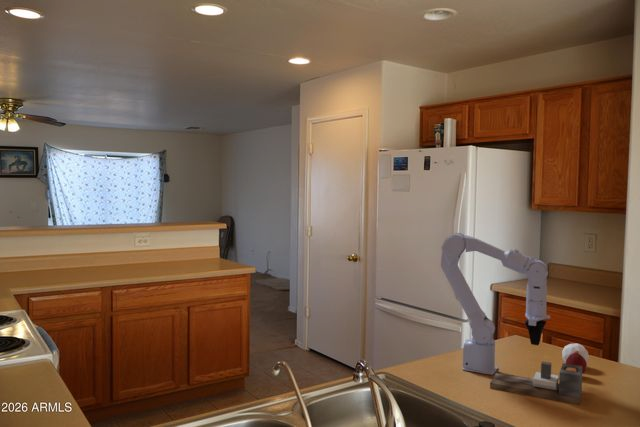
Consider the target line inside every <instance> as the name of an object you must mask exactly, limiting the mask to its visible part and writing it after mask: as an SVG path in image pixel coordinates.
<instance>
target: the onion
mask: <svg viewBox="0 0 640 427" xmlns="http://www.w3.org/2000/svg"><path fill="white" fill-rule="evenodd" d="M587 363H588V362H587ZM587 363H586V360H585V359H584V358H583V357H582V356H581V355H580V354H579V353H578V351H577V350H576V351H575V352H574V353H573V354H571V355H570V356H569V357H568V358H567V360H566V363H565V364H571V365H577V366H582V374H584V373H585V371H586V370H587V367H588V365H587Z"/></svg>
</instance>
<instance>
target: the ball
mask: <svg viewBox="0 0 640 427" xmlns="http://www.w3.org/2000/svg"><path fill="white" fill-rule="evenodd" d="M576 350H577V351H578V353H579V354H580V355H581V356H582V357H583V358H584V359H585V360H586V363H588V361H589V351H588V350H587V349H586V348H585V346H583V345H582V344H580V343H576V342H575V343H569V344H567V345H564V347H563V350H562V351H561V354H562V355H561V356H562V357H561V358H562V360H563V362H564V364H566V360H567V358H568V357H569V356H570V355H571V354H573V353H574V352H575V351H576Z"/></svg>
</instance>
